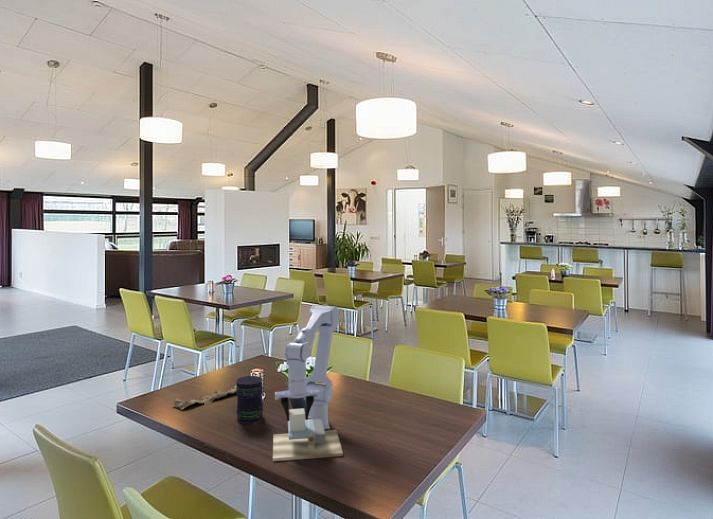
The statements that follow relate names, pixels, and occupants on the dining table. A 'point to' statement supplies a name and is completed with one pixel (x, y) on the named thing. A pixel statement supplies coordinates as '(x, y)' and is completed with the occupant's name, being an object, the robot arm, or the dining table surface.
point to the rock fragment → (183, 404)
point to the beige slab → (305, 447)
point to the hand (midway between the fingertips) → (297, 419)
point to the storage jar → (249, 399)
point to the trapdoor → (309, 431)
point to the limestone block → (297, 419)
